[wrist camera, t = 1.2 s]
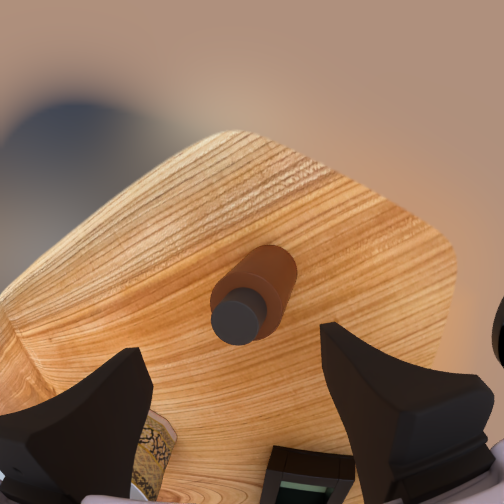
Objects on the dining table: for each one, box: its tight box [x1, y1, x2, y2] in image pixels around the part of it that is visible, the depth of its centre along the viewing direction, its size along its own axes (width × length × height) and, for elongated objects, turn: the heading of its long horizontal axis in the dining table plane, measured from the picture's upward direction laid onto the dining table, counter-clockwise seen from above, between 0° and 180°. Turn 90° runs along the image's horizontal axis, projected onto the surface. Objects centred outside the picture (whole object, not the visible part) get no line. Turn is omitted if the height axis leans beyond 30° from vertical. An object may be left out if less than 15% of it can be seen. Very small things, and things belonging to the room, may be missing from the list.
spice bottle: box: [210, 245, 297, 346], centre depth 19 cm, size 4×4×9 cm
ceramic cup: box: [130, 409, 177, 502], centre depth 27 cm, size 13×10×10 cm
